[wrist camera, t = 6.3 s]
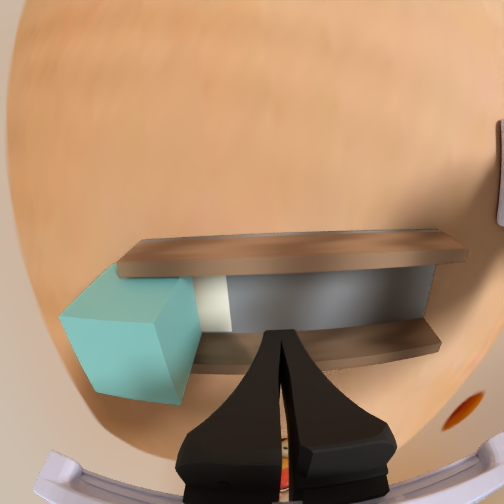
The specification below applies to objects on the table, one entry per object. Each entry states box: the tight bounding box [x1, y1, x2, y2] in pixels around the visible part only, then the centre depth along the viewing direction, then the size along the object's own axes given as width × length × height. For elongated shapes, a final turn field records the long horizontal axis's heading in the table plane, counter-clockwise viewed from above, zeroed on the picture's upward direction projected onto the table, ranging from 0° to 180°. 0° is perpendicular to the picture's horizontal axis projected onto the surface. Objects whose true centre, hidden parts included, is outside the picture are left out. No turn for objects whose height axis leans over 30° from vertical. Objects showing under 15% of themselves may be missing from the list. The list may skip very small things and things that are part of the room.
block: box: [59, 263, 202, 406], centre depth 14 cm, size 5×5×6 cm
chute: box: [117, 229, 468, 374], centre depth 15 cm, size 19×7×4 cm, turn 93°
